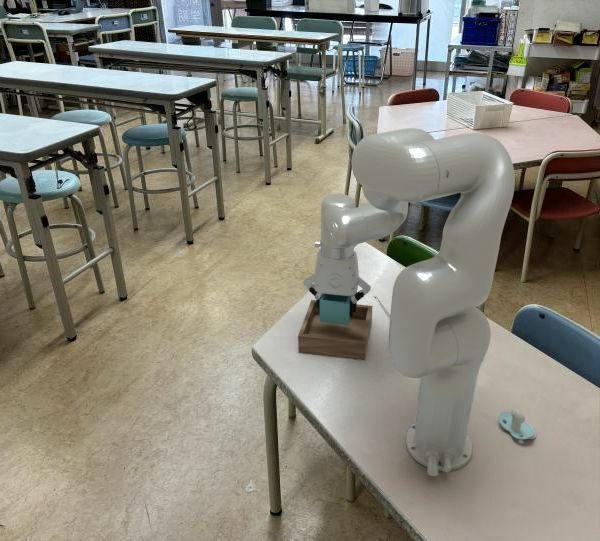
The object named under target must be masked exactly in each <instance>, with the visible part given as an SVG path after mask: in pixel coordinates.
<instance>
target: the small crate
mask: <svg viewBox="0 0 600 541" xmlns="http://www.w3.org/2000/svg"><path fill="white" fill-rule="evenodd" d="M350 302H351V299H350V297H349V296H342V295H332V294H322V296H321V299H320V322H325V323H334V324H343V325H349V321H350Z"/></svg>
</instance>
